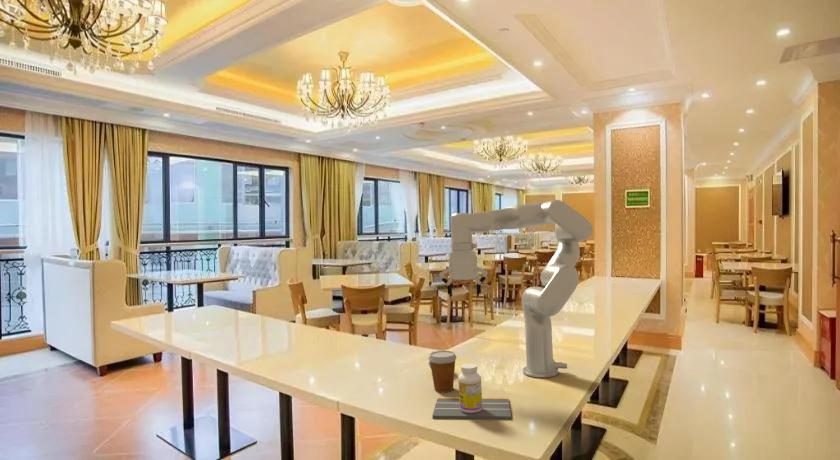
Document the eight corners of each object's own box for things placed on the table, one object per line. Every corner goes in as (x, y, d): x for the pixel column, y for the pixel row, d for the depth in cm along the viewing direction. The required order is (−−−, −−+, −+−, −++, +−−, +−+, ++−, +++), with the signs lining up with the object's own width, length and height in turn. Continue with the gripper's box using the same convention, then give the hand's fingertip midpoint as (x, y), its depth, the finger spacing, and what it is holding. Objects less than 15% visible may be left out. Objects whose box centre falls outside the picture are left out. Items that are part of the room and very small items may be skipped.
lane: (508, 399, 140) (508, 396, 140) (510, 419, 125) (510, 416, 125) (438, 399, 143) (437, 396, 143) (432, 418, 128) (432, 415, 128)
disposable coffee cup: (449, 395, 146) (447, 358, 146) (424, 391, 151) (423, 355, 151) (462, 386, 154) (461, 351, 154) (438, 383, 159) (437, 349, 159)
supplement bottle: (459, 405, 135) (457, 362, 135) (481, 404, 135) (479, 361, 135) (460, 414, 128) (458, 369, 128) (483, 413, 128) (481, 368, 128)
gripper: (486, 246, 163) (488, 293, 162) (439, 248, 165) (441, 295, 165) (486, 247, 155) (489, 296, 155) (436, 249, 158) (439, 298, 157)
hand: (464, 295), depth 160 cm, fingers open, 9 cm apart
